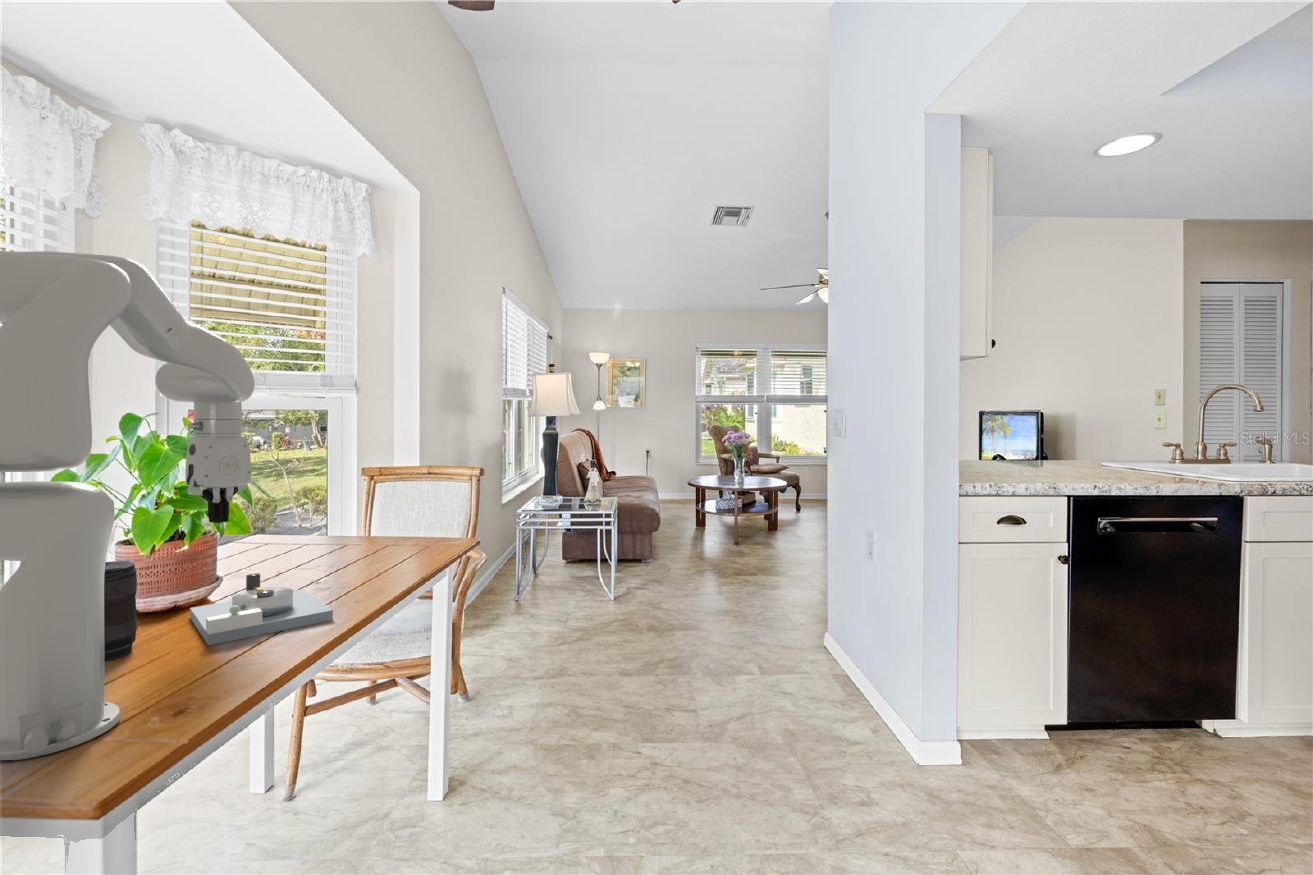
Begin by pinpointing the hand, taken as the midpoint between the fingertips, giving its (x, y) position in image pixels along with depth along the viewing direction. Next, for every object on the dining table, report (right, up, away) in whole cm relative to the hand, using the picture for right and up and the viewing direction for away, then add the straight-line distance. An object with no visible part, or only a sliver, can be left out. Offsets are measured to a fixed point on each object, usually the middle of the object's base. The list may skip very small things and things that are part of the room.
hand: (218, 521), depth 116 cm
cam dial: (+7, -17, +2) cm, 19 cm away
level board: (+7, -20, +1) cm, 21 cm away
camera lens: (-6, -20, -18) cm, 27 cm away
